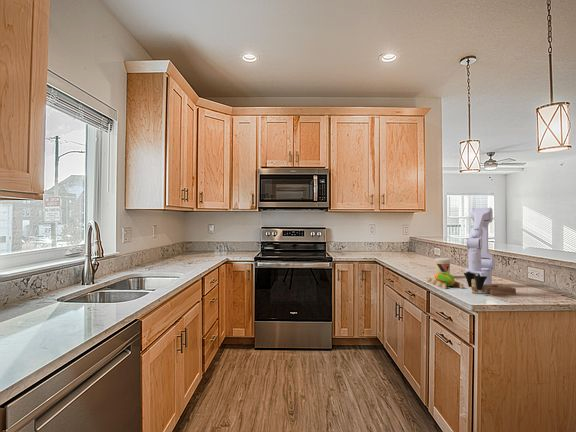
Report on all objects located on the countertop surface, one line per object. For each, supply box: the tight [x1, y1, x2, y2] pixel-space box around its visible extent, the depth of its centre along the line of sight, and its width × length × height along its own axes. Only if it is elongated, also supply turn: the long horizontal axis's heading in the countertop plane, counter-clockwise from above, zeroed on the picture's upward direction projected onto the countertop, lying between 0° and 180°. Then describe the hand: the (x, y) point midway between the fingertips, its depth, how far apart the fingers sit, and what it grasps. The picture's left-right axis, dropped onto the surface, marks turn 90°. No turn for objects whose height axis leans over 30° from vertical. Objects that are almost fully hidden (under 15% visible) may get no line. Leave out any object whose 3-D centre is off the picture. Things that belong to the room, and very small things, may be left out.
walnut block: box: [479, 283, 517, 296], centre depth 175 cm, size 12×12×3 cm
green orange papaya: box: [434, 272, 456, 288], centre depth 196 cm, size 7×8×20 cm
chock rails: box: [426, 276, 464, 290], centre depth 196 cm, size 23×10×2 cm, turn 1°
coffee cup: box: [434, 257, 451, 274], centre depth 219 cm, size 9×9×12 cm
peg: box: [470, 279, 479, 295], centre depth 173 cm, size 3×3×7 cm
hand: (475, 288), depth 173 cm, fingers open, 7 cm apart
